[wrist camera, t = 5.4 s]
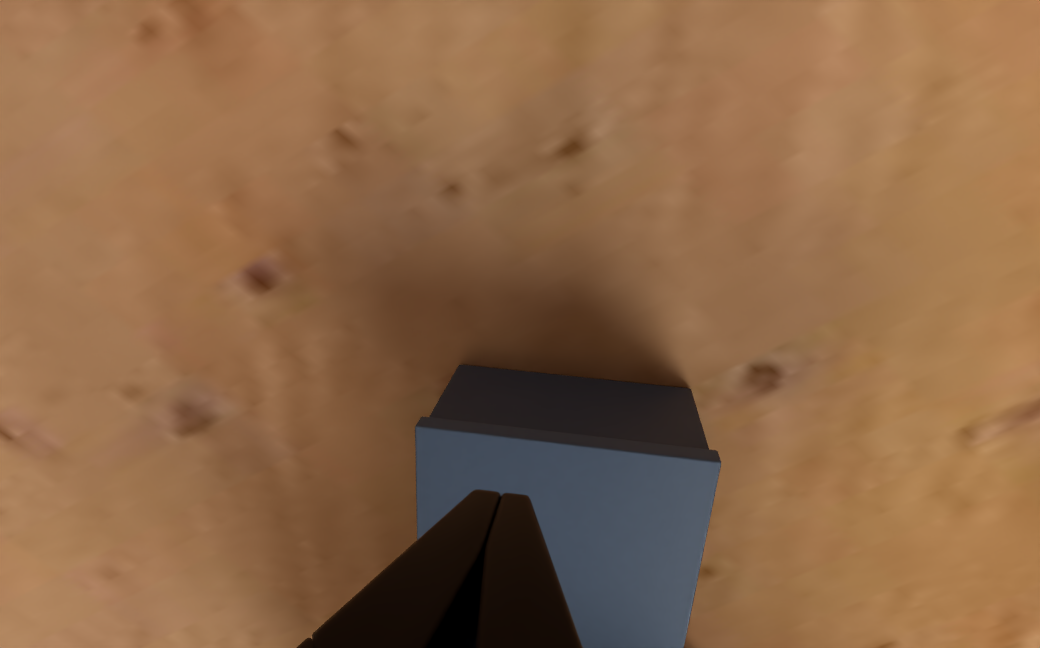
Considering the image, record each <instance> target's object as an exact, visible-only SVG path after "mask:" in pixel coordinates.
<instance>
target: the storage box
mask: <svg viewBox="0 0 1040 648" xmlns="http://www.w3.org/2000/svg"><path fill="white" fill-rule="evenodd" d="M415 445H416V502H417V540H418V539H419V538H420V537H421V536H422V535H423V534H425V533H426V532H427V531H428V530H429V529H430V528H431V527H432V526H434V525H435V524H436V523H437V522H438V521H439V520H440V519H441V518H443V517H444V516H445V515H446V514H447V513H448V512H449V511H450V510H451V509H453V508H454V507H455V506H456V505H457V504H458V503H459V502H460V501H462V500H463V499H464V498H465V497H466V496H467V495H468V494H469V493H470V492H472V491H473V490H475V489H481V490H489V491H497V492H499V493H500V495H501V496H502V494H504V493H514V494H523V495H527V496H529V498H530V499H531V502H532V505H533V508H534V511H535V513H536V516H537V519H538V522H539V525H540V528H541V530H542V533H543V536H544V539H545V542H546V545H547V548H548V550H549V553H550V556H551V559H552V562H553V565H554V567H555V570H556V573H557V576H558V579H559V582H560V585H561V587H562V590H563V593H564V596H565V599H566V602H567V604H568V607H569V610H570V613H571V616H572V619H573V622H574V624H575V627H576V630H577V633H578V636H579V639H580V641H581V644H582V647H583V648H684V644H685V639H686V634H687V629H688V624H689V619H690V614H691V609H692V604H693V599H694V595H695V590H696V585H697V580H698V575H699V570H700V565H701V560H702V555H703V550H704V545H705V540H706V535H707V531H708V526H709V521H710V516H711V511H712V506H713V501H714V496H715V491H716V486H717V481H718V476H719V472H720V467H721V460H720V457H719V454H718V451H716V450H709V448H708V444H707V441H706V438H705V434H704V431H703V428H702V424H701V421H700V418H699V414H698V411H697V408H696V405H695V401H694V398H693V395H692V391H691V389H689V388H680V387H670V386H661V385H651V384H642V383H632V382H622V381H613V380H603V379H594V378H584V377H575V376H565V375H556V374H546V373H536V372H527V371H517V370H508V369H498V368H489V367H479V366H470V365H459V366H458V367H457V369H456V371H455V373H454V374H453V376H452V378H451V380H450V381H449V383H448V385H447V387H446V388H445V390H444V392H443V394H442V395H441V397H440V399H439V401H438V402H437V404H436V406H435V408H434V409H433V411H432V413H431V415H430V416H429V417H423V416H422V417H421V418H420V419H419V421H418V423H417V424H416V426H415Z"/></svg>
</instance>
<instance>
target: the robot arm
mask: <svg viewBox="0 0 1040 648" xmlns="http://www.w3.org/2000/svg"><path fill="white" fill-rule="evenodd" d="M297 648H583V647H582V644H581V641H580V639H579V636H578V633H577V630H576V627H575V624H574V622H573V619H572V616H571V613H570V610H569V607H568V604H567V602H566V599H565V596H564V593H563V590H562V587H561V585H560V582H559V579H558V576H557V573H556V570H555V567H554V565H553V562H552V559H551V556H550V553H549V550H548V548H547V545H546V542H545V539H544V536H543V533H542V530H541V528H540V525H539V522H538V519H537V516H536V513H535V511H534V508H533V505H532V502H531V499H530V498H529V496H527V495H523V494H514V493H504V494H502V496H501V495H500V493H499V492H497V491H489V490H481V489H475V490H473V491H472V492H470V493H469V494H468V495H467V496H466V497H465V498H464V499H463V500H462V501H460V502H459V503H458V504H457V505H456V506H455V507H454V508H453V509H451V510H450V511H449V512H448V513H447V514H446V515H445V516H444V517H443V518H441V519H440V520H439V521H438V522H437V523H436V524H435V525H434V526H432V527H431V528H430V529H429V530H428V531H427V532H426V533H425V534H423V535H422V536H421V537H420V538H419V539H418V540H417V541H416V542H415V543H413V544H412V545H411V546H410V547H409V548H408V549H407V550H406V551H404V552H403V553H402V554H401V555H400V556H399V557H398V558H397V559H396V560H394V561H393V562H392V563H391V564H390V565H389V566H388V567H387V568H385V569H384V570H383V571H382V572H381V573H380V574H379V575H378V576H376V577H375V578H374V579H373V580H372V581H371V582H370V583H369V584H368V585H366V586H365V587H364V588H363V589H362V590H361V591H360V592H359V593H357V594H356V595H355V596H354V597H353V598H352V599H351V600H350V601H349V602H347V603H346V604H345V605H344V606H343V607H342V608H341V609H340V610H338V611H337V612H336V613H335V614H334V615H333V616H332V617H331V618H330V619H328V620H327V621H326V622H325V623H324V624H323V625H322V626H321V627H319V628H318V629H317V630H316V631H315V632H314V633H313V634H312V639H311V638H307V639H306V640H305V641H303V642H302V643H301V644H300V645H299V646H298V647H297Z"/></svg>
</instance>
